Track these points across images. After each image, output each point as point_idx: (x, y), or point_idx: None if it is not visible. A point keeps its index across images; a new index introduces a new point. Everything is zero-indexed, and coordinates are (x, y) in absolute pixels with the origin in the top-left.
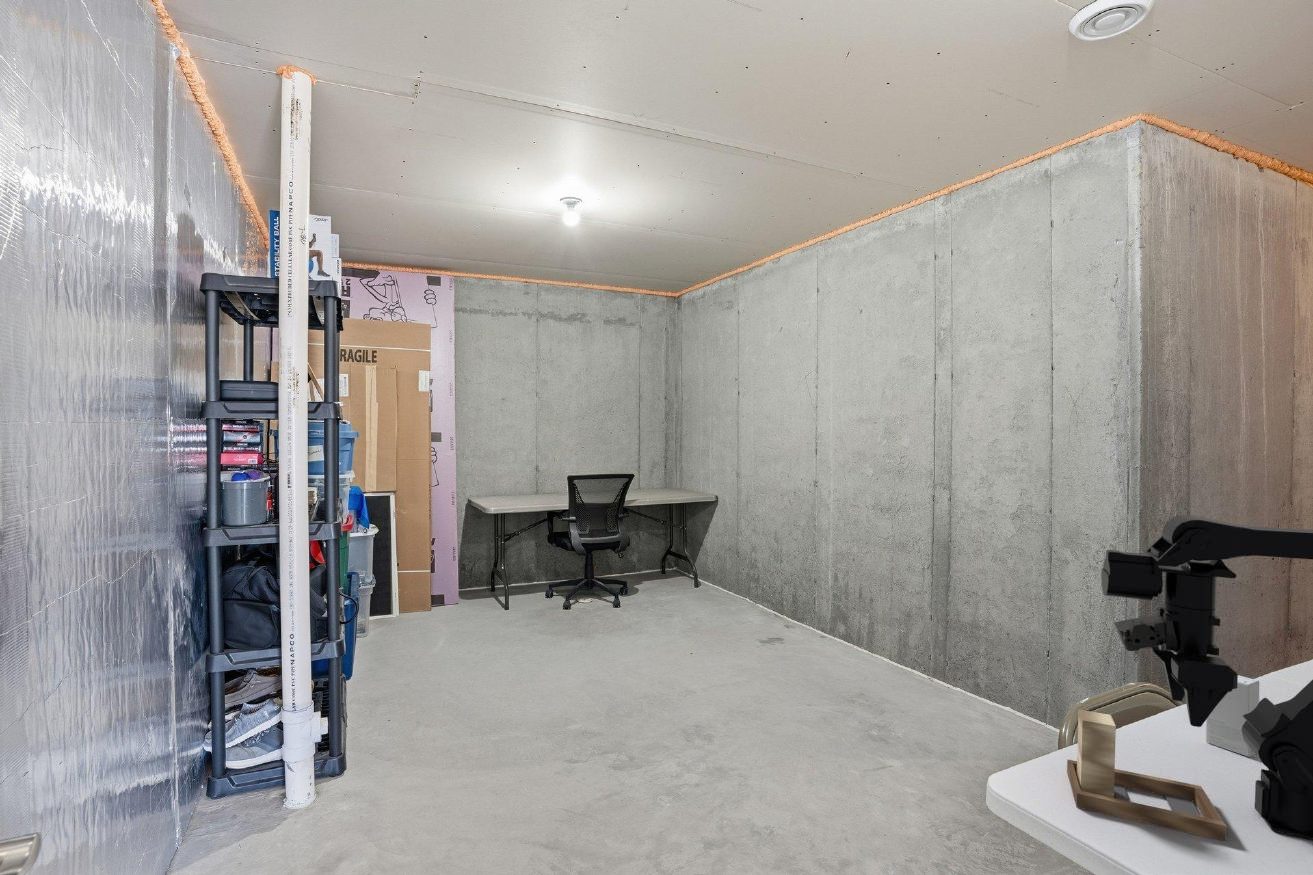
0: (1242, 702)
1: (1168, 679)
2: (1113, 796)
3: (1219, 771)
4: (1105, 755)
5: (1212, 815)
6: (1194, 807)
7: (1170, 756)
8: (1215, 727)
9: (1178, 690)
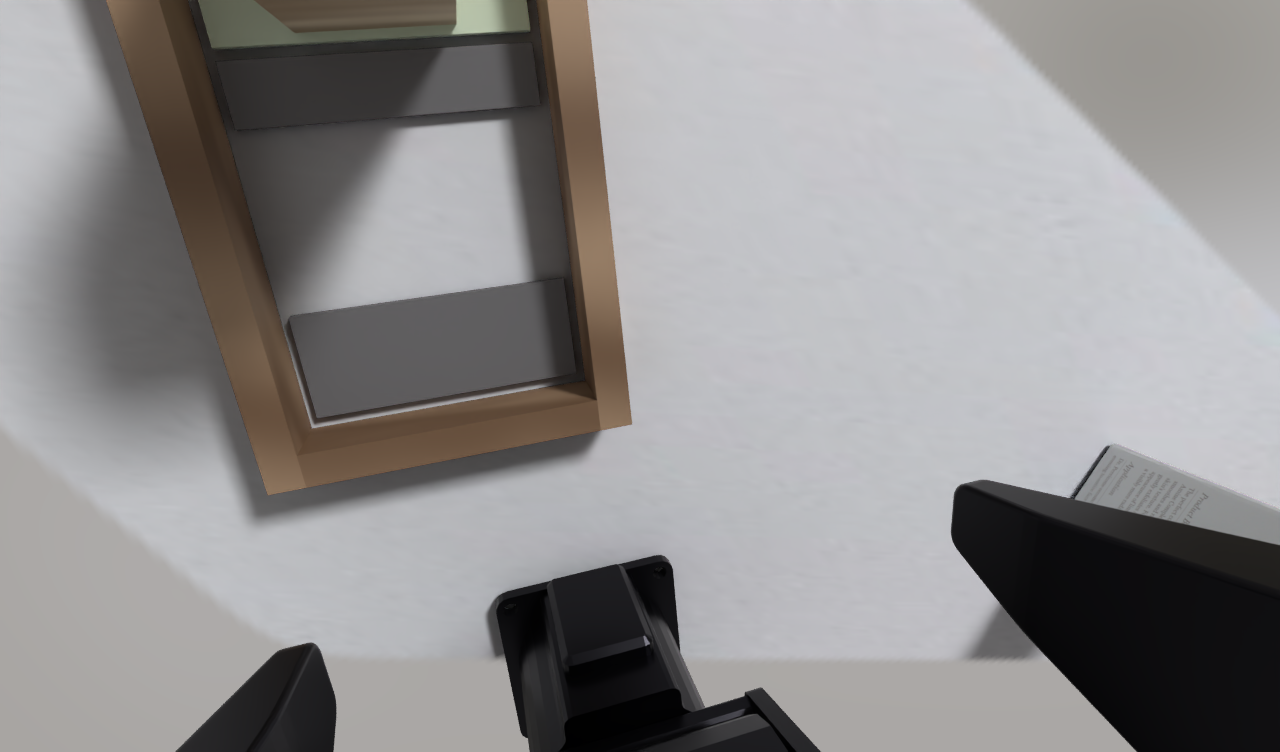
0: None
1: (1174, 560)
2: (284, 24)
3: (897, 468)
4: None
5: (342, 451)
6: (507, 380)
7: (955, 324)
8: (1162, 497)
9: (1035, 582)
